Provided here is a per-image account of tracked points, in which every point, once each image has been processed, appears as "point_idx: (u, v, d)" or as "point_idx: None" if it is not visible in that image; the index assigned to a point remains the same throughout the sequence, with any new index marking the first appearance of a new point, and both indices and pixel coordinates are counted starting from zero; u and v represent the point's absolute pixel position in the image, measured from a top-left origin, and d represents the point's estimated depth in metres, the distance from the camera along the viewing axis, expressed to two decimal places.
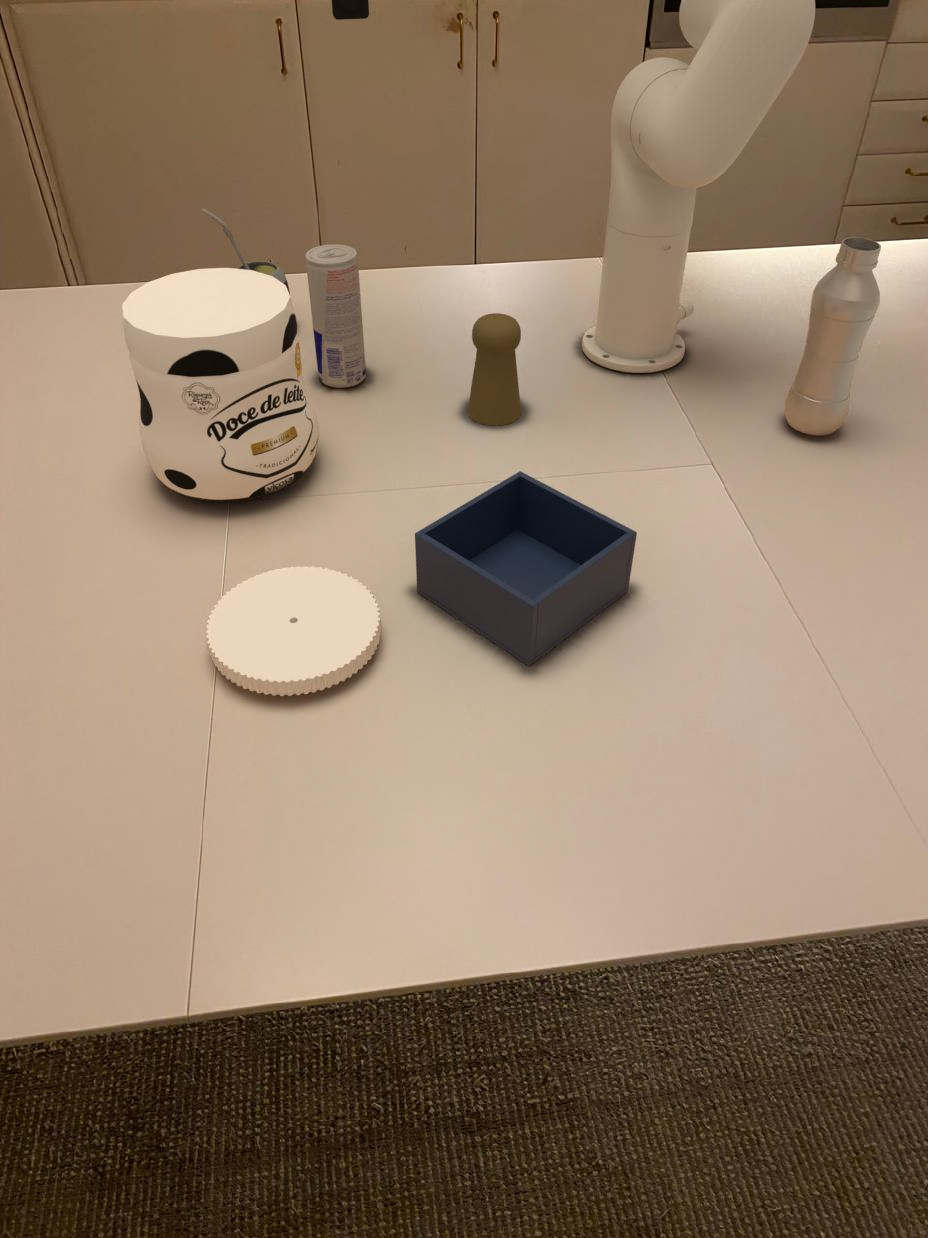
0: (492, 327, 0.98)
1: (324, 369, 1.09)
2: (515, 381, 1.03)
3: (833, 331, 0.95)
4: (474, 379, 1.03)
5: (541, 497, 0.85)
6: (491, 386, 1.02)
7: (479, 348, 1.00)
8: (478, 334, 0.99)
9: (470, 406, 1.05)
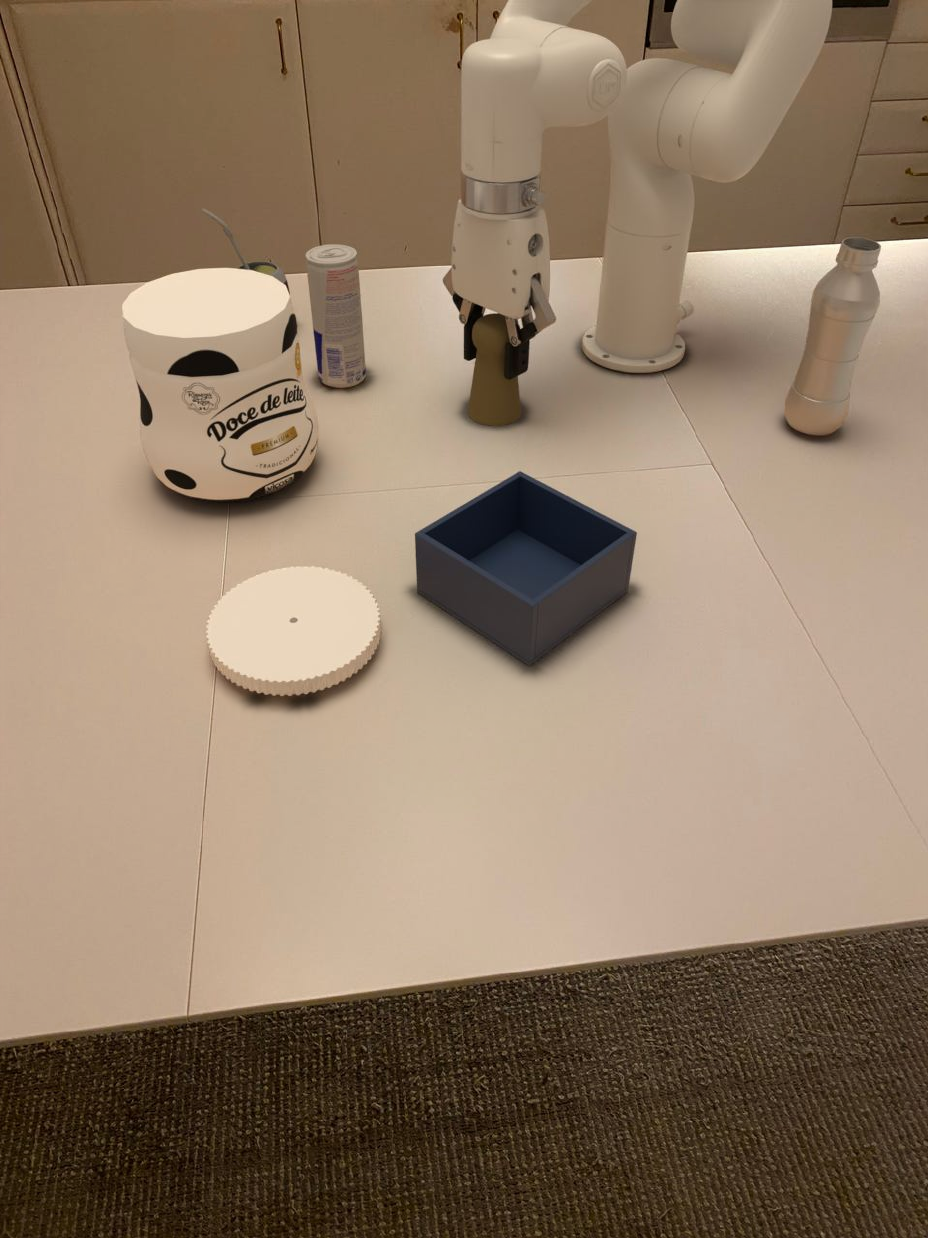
0: (492, 327, 0.98)
1: (324, 369, 1.09)
2: (515, 381, 1.03)
3: (833, 331, 0.95)
4: (474, 379, 1.03)
5: (541, 497, 0.85)
6: (491, 386, 1.02)
7: (479, 348, 1.00)
8: (478, 334, 0.99)
9: (470, 406, 1.05)
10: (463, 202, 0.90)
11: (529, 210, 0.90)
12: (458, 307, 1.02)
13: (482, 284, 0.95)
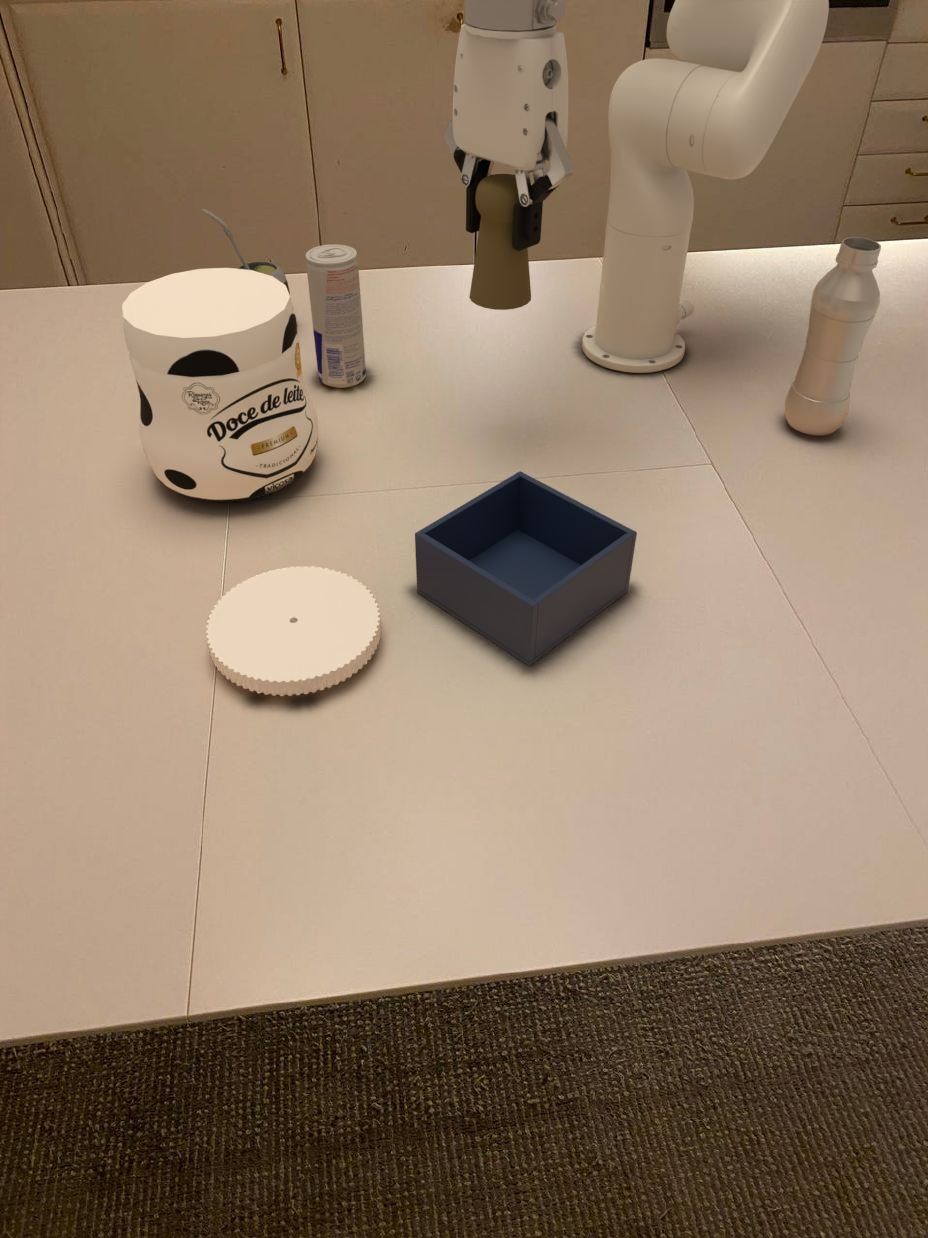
0: (498, 185, 0.84)
1: (324, 369, 1.09)
2: (525, 256, 0.89)
3: (833, 331, 0.95)
4: (477, 253, 0.89)
5: (541, 497, 0.85)
6: (497, 259, 0.88)
7: (483, 212, 0.86)
8: (482, 194, 0.85)
9: (472, 288, 0.91)
10: (466, 21, 0.76)
11: (545, 29, 0.75)
12: (460, 167, 0.87)
13: (488, 129, 0.81)
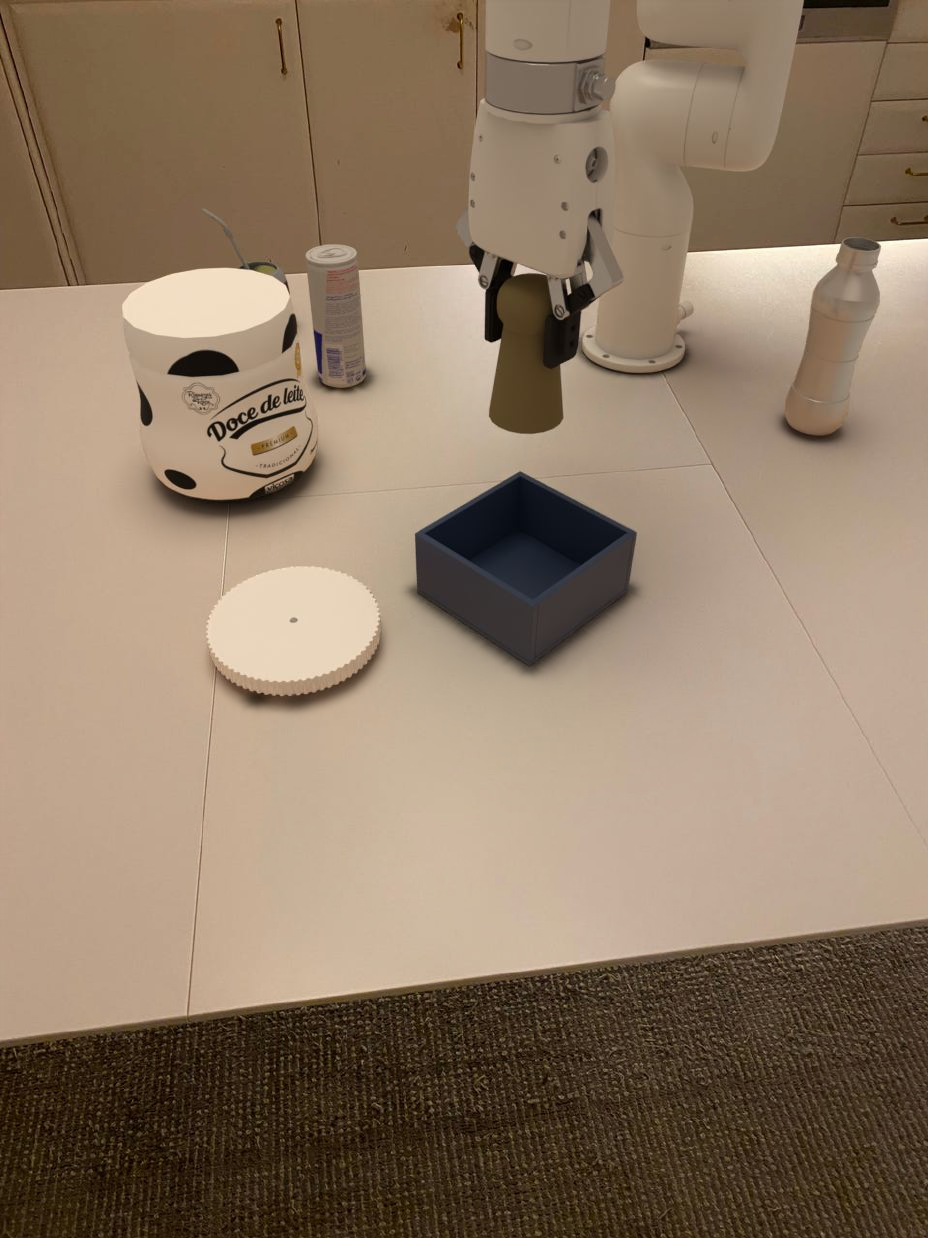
0: (527, 292, 0.68)
1: (324, 369, 1.09)
2: (557, 370, 0.73)
3: (833, 331, 0.95)
4: (499, 368, 0.73)
5: (541, 497, 0.85)
6: (524, 377, 0.72)
7: (507, 323, 0.69)
8: (507, 302, 0.69)
9: (493, 407, 0.75)
10: (488, 99, 0.60)
11: (588, 110, 0.59)
12: (477, 265, 0.71)
13: (514, 227, 0.65)
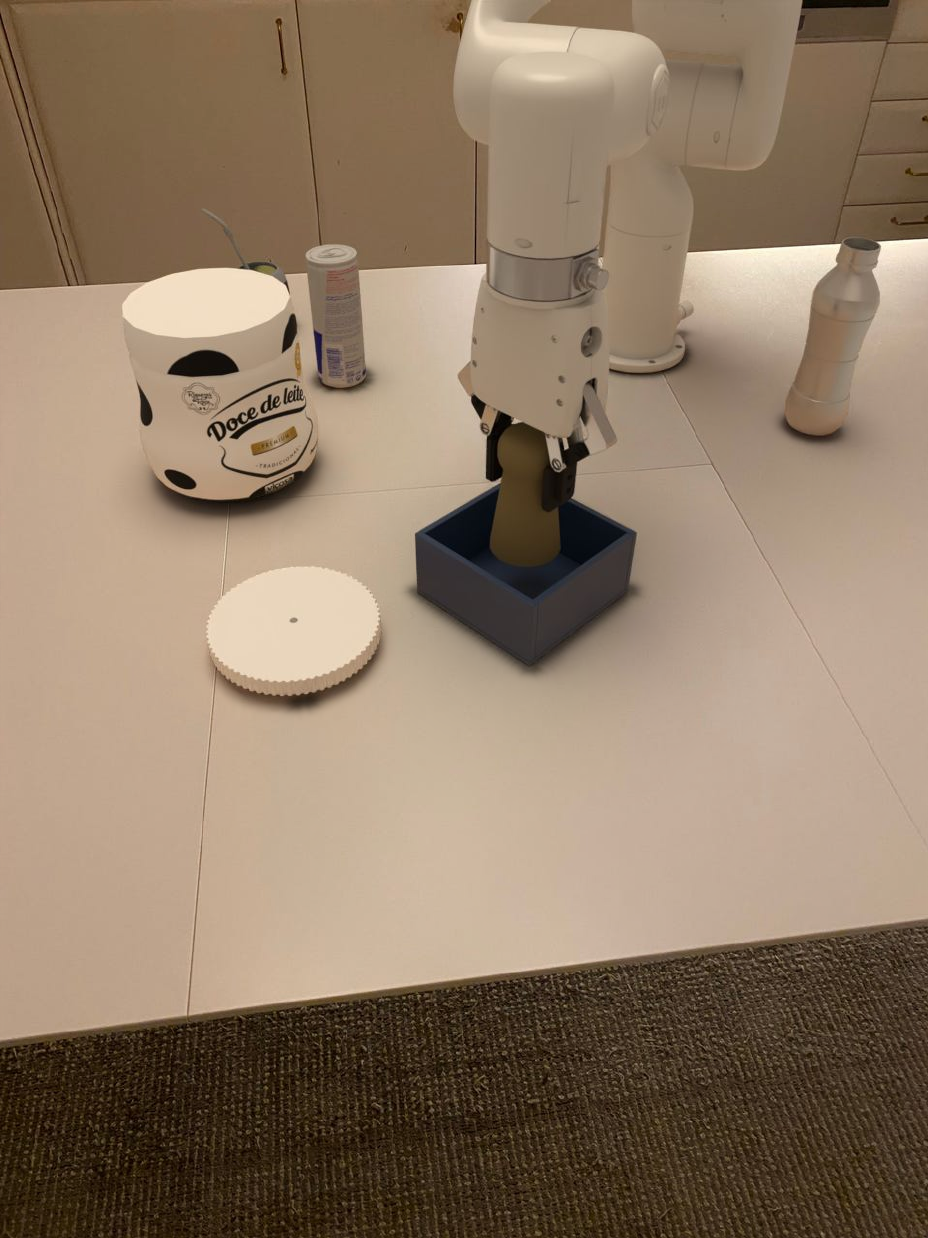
0: (526, 444, 0.72)
1: (324, 369, 1.09)
2: (555, 509, 0.77)
3: (833, 331, 0.95)
4: (499, 507, 0.77)
5: None
6: (523, 518, 0.76)
7: (507, 470, 0.73)
8: (507, 452, 0.72)
9: (494, 540, 0.79)
10: (489, 282, 0.64)
11: (583, 294, 0.63)
12: (479, 412, 0.75)
13: (514, 390, 0.69)
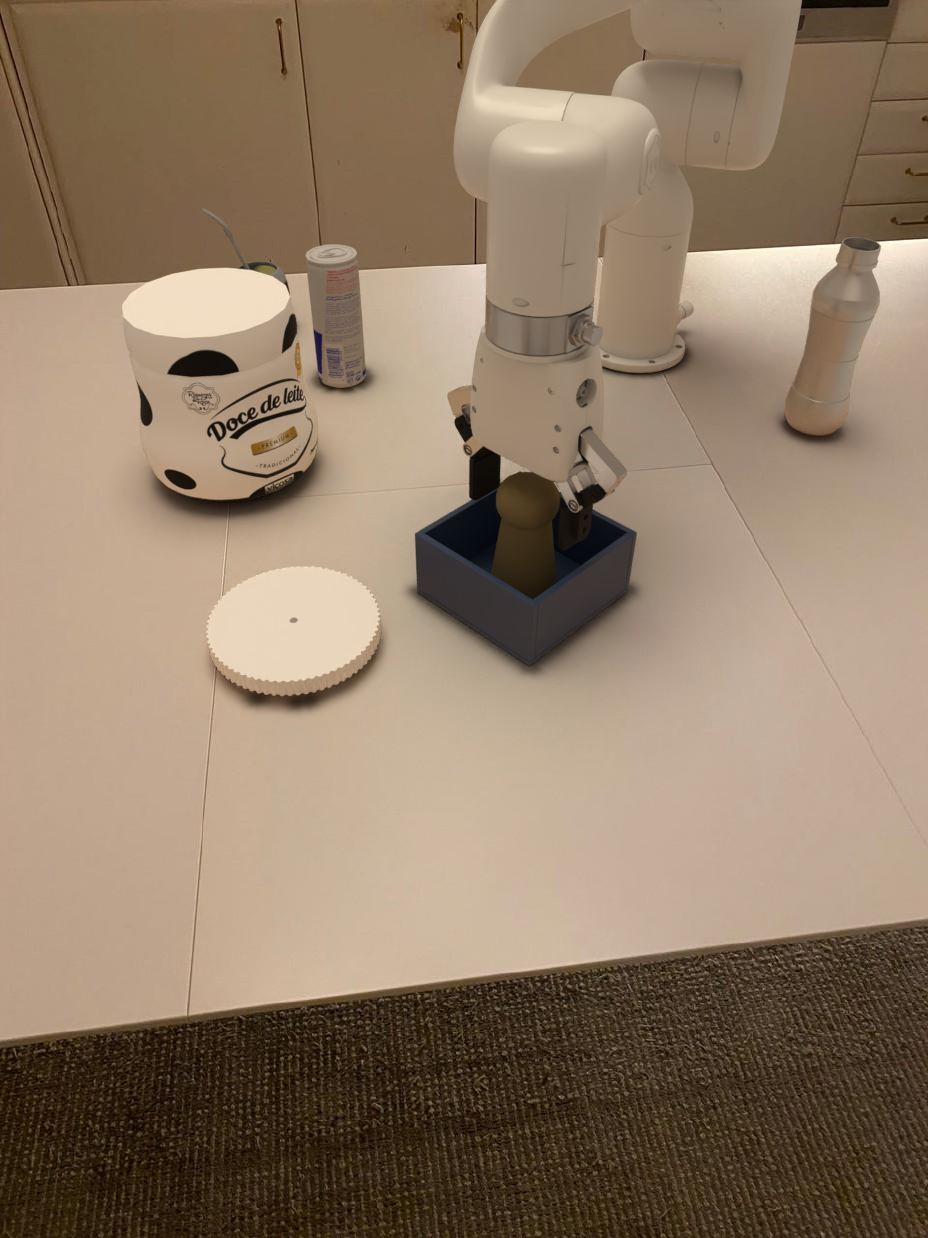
0: (523, 496, 0.75)
1: (324, 369, 1.09)
2: (551, 555, 0.80)
3: (833, 331, 0.95)
4: (498, 552, 0.80)
5: None
6: (520, 564, 0.79)
7: (505, 520, 0.77)
8: (505, 503, 0.76)
9: None
10: (488, 336, 0.67)
11: (578, 349, 0.66)
12: (462, 434, 0.78)
13: (512, 436, 0.71)
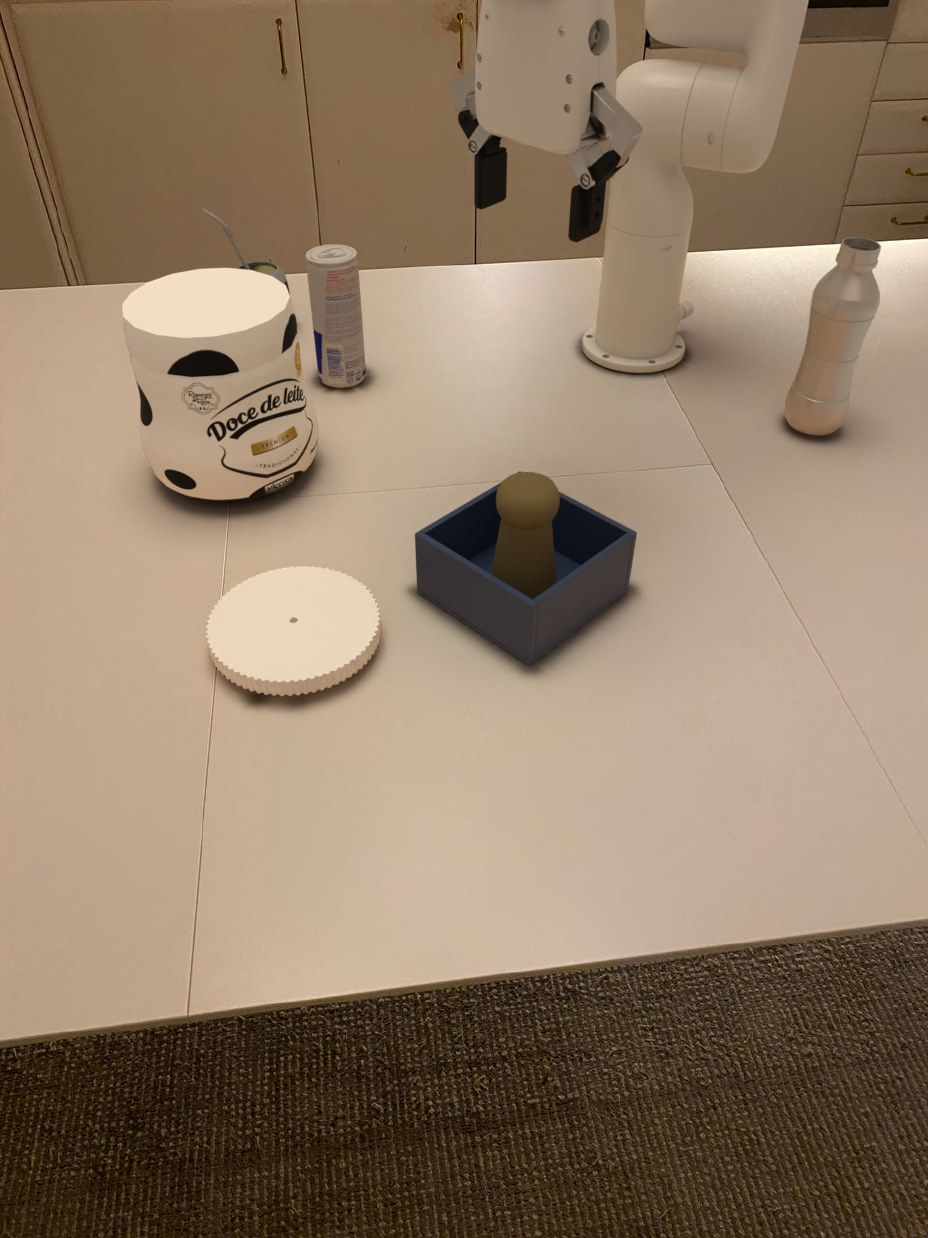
0: (523, 496, 0.75)
1: (324, 369, 1.09)
2: (551, 555, 0.80)
3: (833, 331, 0.95)
4: (498, 552, 0.80)
5: None
6: (520, 564, 0.79)
7: (505, 520, 0.77)
8: (505, 503, 0.76)
9: None
10: None
11: None
12: (466, 131, 0.74)
13: (520, 105, 0.68)
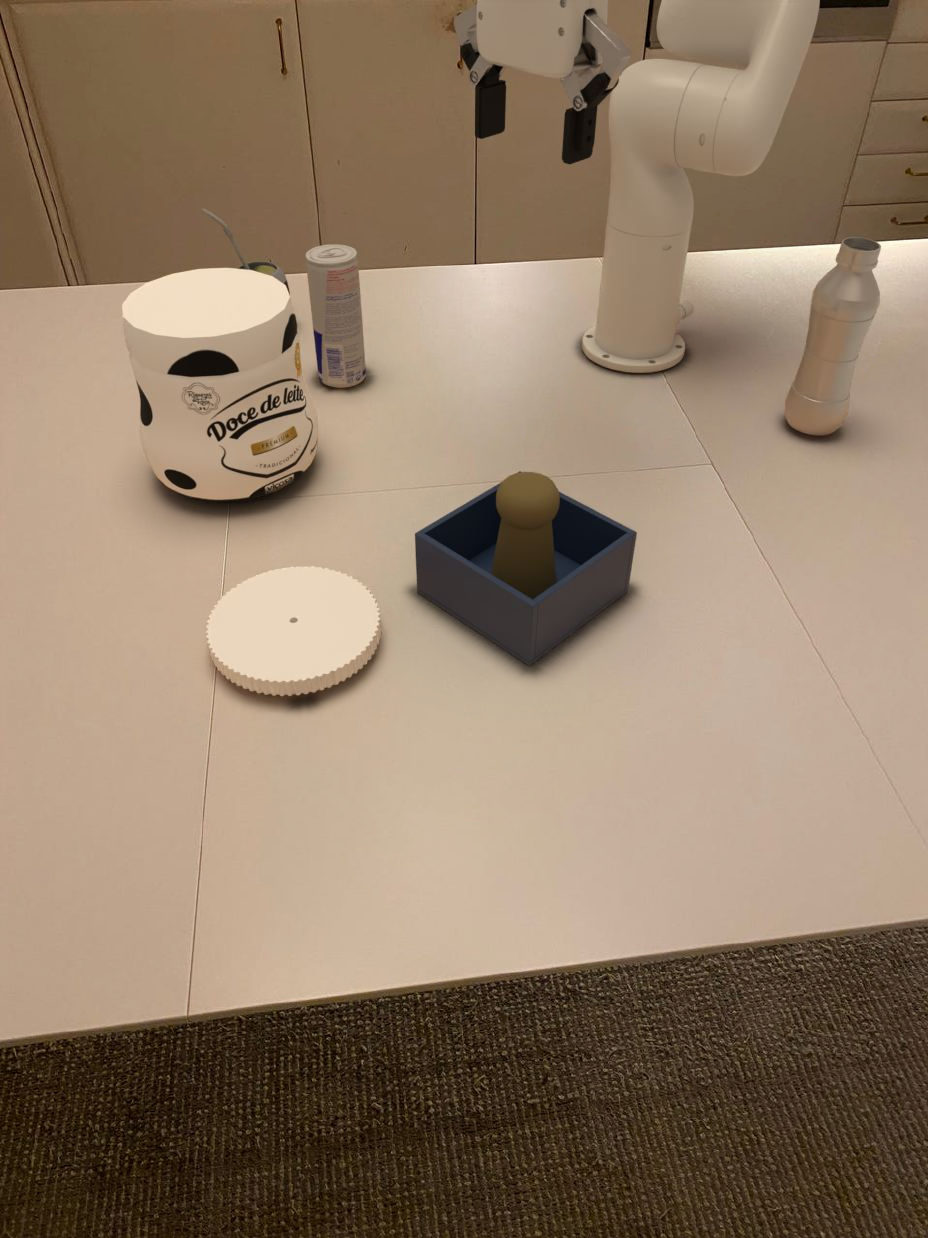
0: (523, 496, 0.75)
1: (324, 369, 1.09)
2: (551, 555, 0.80)
3: (833, 331, 0.95)
4: (498, 552, 0.80)
5: None
6: (520, 564, 0.79)
7: (505, 520, 0.77)
8: (505, 503, 0.76)
9: None
10: None
11: None
12: (468, 63, 0.79)
13: (518, 32, 0.73)
